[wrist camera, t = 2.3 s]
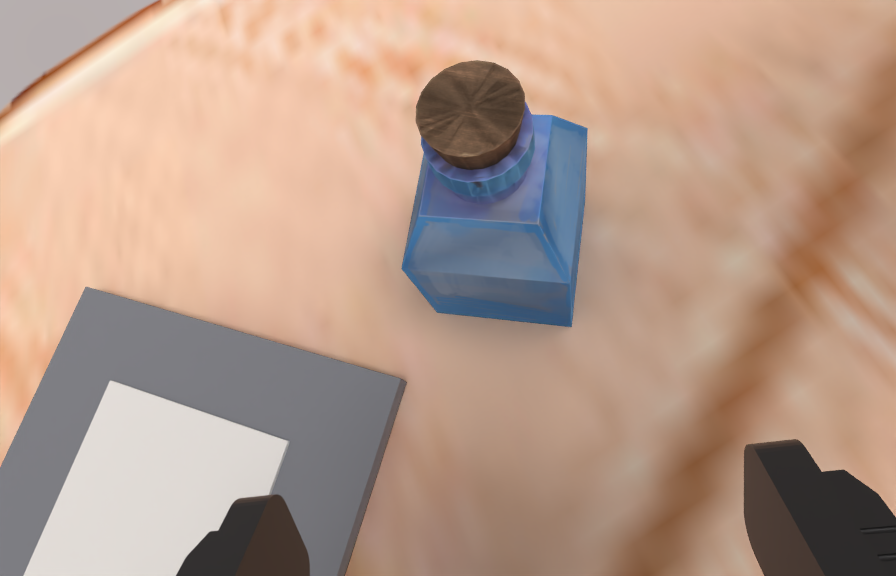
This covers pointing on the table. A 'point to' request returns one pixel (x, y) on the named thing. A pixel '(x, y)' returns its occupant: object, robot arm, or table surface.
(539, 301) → the perfume bottle
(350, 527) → the mat
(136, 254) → the table surface
